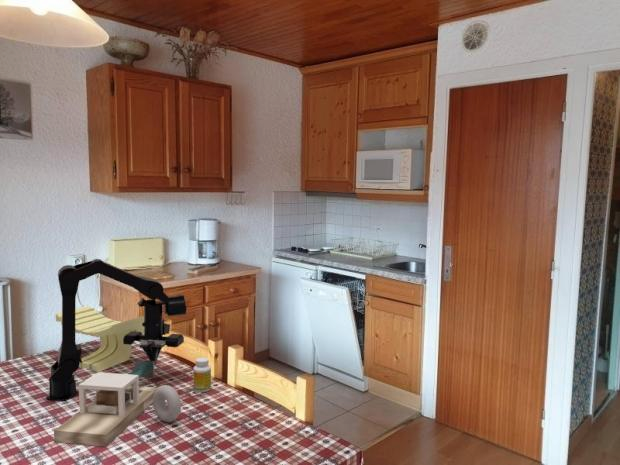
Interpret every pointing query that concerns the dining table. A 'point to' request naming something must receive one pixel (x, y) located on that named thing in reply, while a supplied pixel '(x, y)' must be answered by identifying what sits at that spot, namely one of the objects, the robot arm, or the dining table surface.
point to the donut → (172, 399)
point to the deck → (102, 422)
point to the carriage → (141, 369)
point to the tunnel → (110, 388)
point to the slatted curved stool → (104, 337)
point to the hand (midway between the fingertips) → (154, 364)
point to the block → (107, 397)
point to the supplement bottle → (202, 375)
